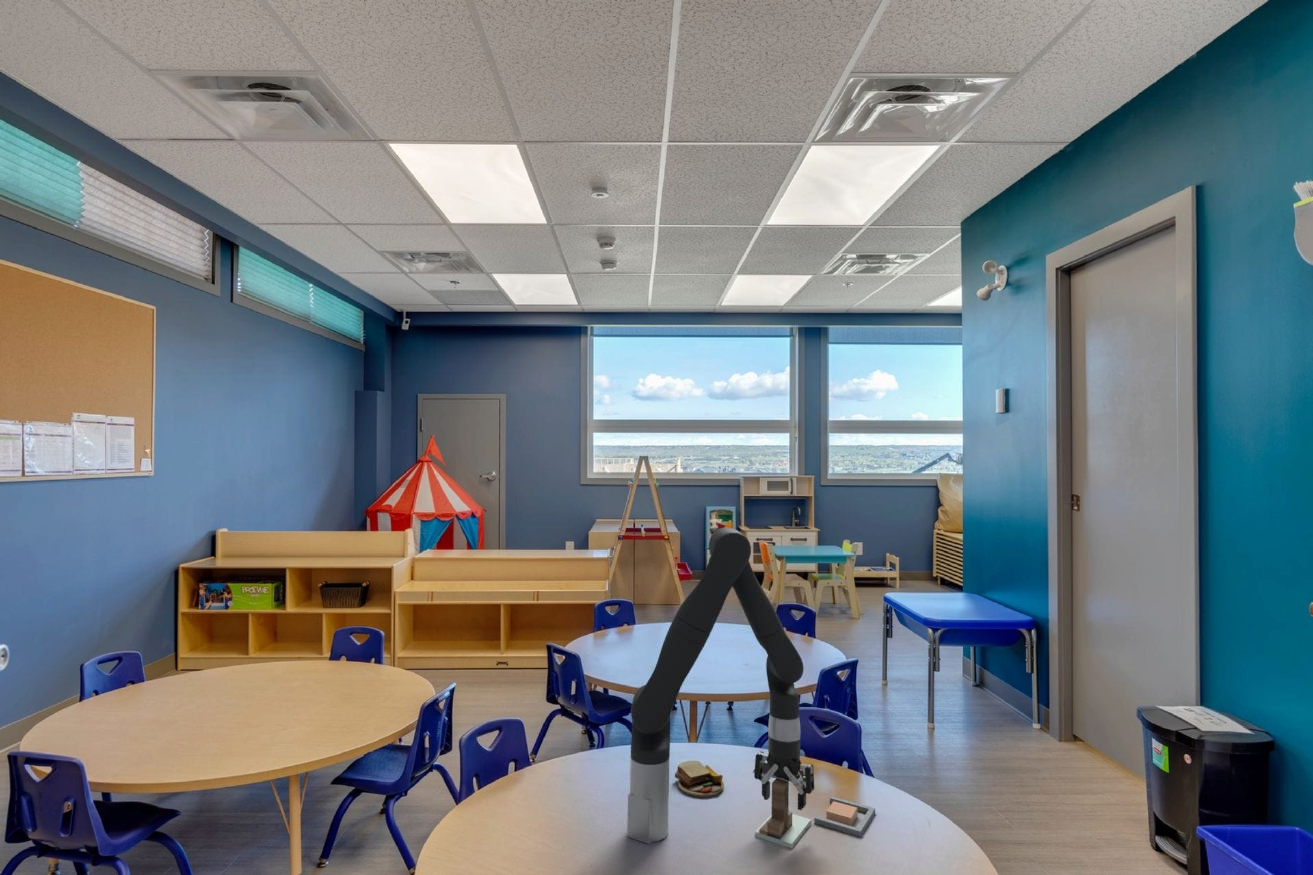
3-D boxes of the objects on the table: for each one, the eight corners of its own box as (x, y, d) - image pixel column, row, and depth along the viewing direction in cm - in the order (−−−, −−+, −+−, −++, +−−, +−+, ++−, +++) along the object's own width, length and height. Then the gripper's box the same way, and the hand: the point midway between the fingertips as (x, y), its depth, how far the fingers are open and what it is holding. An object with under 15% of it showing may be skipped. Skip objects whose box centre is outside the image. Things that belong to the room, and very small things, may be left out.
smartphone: (804, 782, 183) (752, 771, 189) (804, 785, 183) (752, 773, 189) (811, 772, 190) (760, 761, 196) (811, 774, 190) (760, 763, 196)
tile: (850, 828, 161) (850, 817, 161) (826, 821, 164) (826, 810, 164) (857, 817, 166) (857, 807, 166) (833, 811, 169) (833, 801, 169)
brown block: (779, 839, 153) (779, 790, 153) (759, 832, 155) (759, 784, 156) (792, 824, 159) (792, 777, 160) (772, 818, 162) (772, 771, 163)
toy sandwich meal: (691, 802, 172) (691, 783, 172) (668, 780, 184) (668, 762, 184) (732, 793, 177) (732, 775, 177) (708, 772, 189) (708, 755, 190)
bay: (860, 836, 156) (860, 831, 156) (814, 822, 162) (814, 817, 162) (875, 813, 168) (875, 808, 168) (831, 800, 174) (831, 796, 174)
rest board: (791, 848, 151) (791, 843, 151) (754, 836, 156) (755, 831, 156) (811, 823, 162) (811, 819, 162) (776, 813, 167) (776, 808, 167)
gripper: (750, 732, 161) (749, 801, 160) (807, 746, 153) (807, 818, 152) (762, 723, 167) (762, 789, 166) (818, 735, 159) (817, 805, 158)
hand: (783, 803), depth 159 cm, fingers open, 8 cm apart
